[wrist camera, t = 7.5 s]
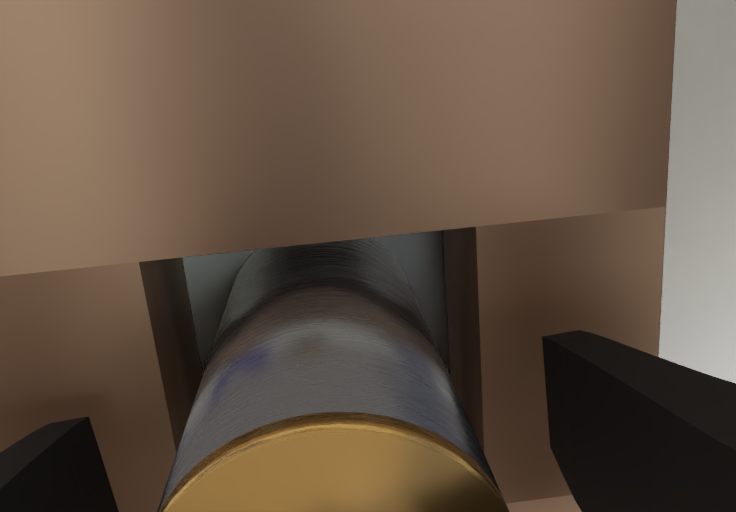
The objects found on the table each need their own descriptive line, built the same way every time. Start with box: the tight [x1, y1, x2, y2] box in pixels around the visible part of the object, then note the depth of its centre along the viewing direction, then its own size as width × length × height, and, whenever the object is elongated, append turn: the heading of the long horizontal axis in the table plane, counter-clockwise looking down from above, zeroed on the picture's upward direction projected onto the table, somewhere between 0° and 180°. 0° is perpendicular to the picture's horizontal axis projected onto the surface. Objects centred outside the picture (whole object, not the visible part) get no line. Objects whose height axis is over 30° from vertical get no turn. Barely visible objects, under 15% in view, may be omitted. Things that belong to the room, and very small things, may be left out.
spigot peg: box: [157, 238, 509, 512], centre depth 10 cm, size 4×4×8 cm
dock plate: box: [0, 0, 677, 512], centre depth 13 cm, size 12×14×3 cm
